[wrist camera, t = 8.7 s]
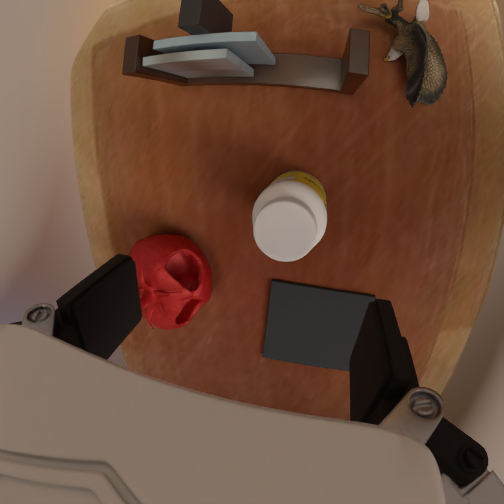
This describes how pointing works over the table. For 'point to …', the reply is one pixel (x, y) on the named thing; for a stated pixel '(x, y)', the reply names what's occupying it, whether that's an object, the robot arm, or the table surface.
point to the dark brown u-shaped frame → (251, 66)
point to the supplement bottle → (290, 216)
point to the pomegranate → (171, 279)
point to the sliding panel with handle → (214, 33)
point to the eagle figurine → (415, 52)
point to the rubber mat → (313, 324)
